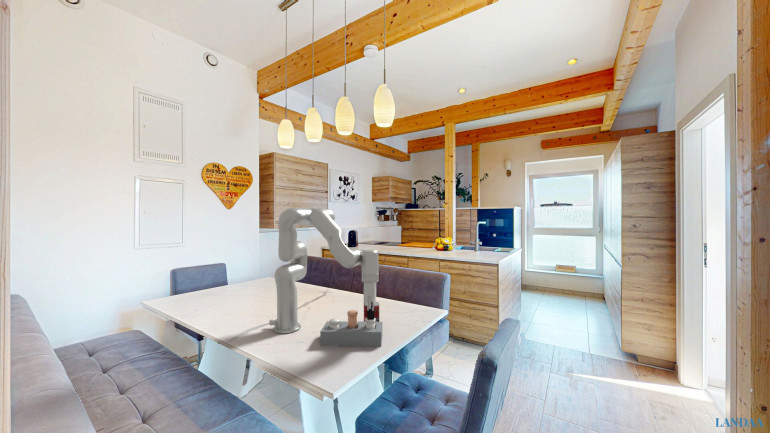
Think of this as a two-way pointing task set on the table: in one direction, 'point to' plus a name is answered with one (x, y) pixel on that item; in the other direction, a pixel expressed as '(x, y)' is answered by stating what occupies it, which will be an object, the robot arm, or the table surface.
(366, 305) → the canned food
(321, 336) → the socket board
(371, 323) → the grey plug
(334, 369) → the table surface
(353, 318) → the plug terracotta
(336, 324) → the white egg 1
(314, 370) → the table surface
